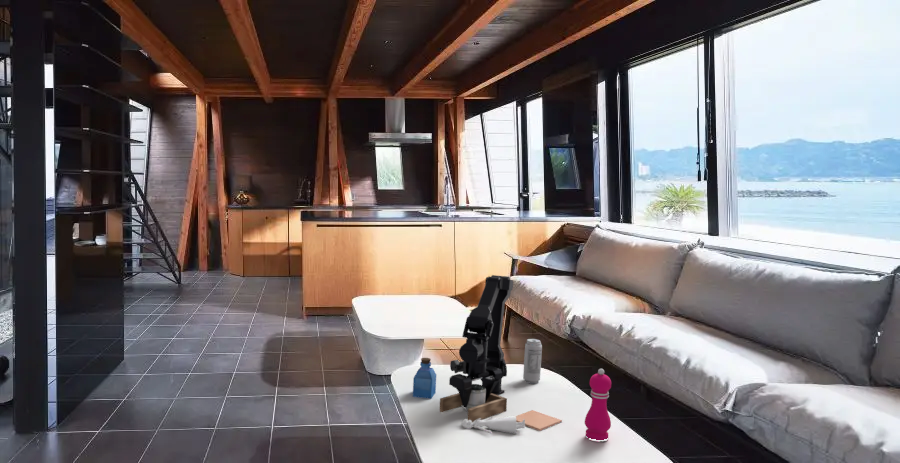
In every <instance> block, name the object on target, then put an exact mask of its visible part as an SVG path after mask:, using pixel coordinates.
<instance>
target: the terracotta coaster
mask: <svg viewBox="0 0 900 463" xmlns="http://www.w3.org/2000/svg"><path fill="white" fill-rule="evenodd" d="M515 416H516V422H522V421H523V420H524V419H525V427H528V428H531V429H534V430H536V431H540V432H541V431H543V429H544V430H545V429H548V427H549V428H551V427H553V426H555V424H556V425H558V424H561V423H563V419H559V418H557V417H553V416H551V415H549V414H545V413H542V412H540V411H537V410H533V409H531V410H529V411H526V412H524V413H523V412H522V413H521V414H520V413H519V414H517V415H515ZM560 422H561V423H560ZM557 423H558V424H557ZM550 426H551V427H550Z"/></svg>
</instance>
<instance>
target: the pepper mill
mask: <svg viewBox="0 0 900 463" xmlns="http://www.w3.org/2000/svg"><path fill="white" fill-rule="evenodd" d="M589 386H590V388H591V390H590V396H591V404H590V407H589V409H588V411H587V413H586V415H585V417H584V418H585V419H584V425H585V427H586V430H585V437H586V436H587V437H588V438H591V439H596V440H604V439H607V438H608V439H609V432H608V431H609V430H610V429H611V427H612V425H611V424H612V421H611V417H610V414H609V411H608V408H607V407H608V406H607V405H608V404H607V402H608V398H609V397H610V395H609V394H610V393H609V391H610V390H611V388H612V380H611V378H610V377H609V376H608V375H607V374H605V370H604V369H603V368H599V369H598V370H597V373H595V374H592V376H591V377H590V379H589Z"/></svg>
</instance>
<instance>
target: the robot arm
mask: <svg viewBox="0 0 900 463" xmlns="http://www.w3.org/2000/svg"><path fill="white" fill-rule="evenodd" d="M484 283H485V285H484V288H483V291H482V293H481V296H480V299H479V302H478V304H477V306H476V307H474V308H473V309H472V310H470V312H469V314H468V316H467V317H466V320H465V324H464V329H463V333H462V338H465V339H466V340H465V343H464V344H462V345H461V346H460V348H459V350H458V351H459V352H458V355H459V357H460V359H461V361H460V360H459V359H454V360H451V361H450V364H449V366H450V370H451V371H452V372H454V375H451V376H450V377H449V382H448V384H449V386H452V388H455V389H456V390H457V392H458V393H459V394H460V398H461V401H462V404H463V406H462V408H464V409H466V408H467V405H468V402H469V398H470V394H471V391H472V388H471V385H472V384H473V382H475V381H478V380H481V385H482V386H484V387H485V389H486V398H485V402H486V401H487V399H488V398H489V396H490V394H491V393H492V394H495V395H500V394H503V393H505V390H503V389H502V379H503V378H504V377H508V376H507V374H508V370H507V368H508V367H507V364H506V360H505V353H504V351H503V349H502V346H501V342H502V333H503V324H504V314H505V305H506V302H507V300H508V299H509V298H510V297H511V292H512V291H513V288H514V280H512V279H511V277H510V276H508V275H507V276H505V275H504V276H503V275H496V274H495V275H494V274H492V275H491V276H487V277H485V282H484ZM461 372H462V373H461Z"/></svg>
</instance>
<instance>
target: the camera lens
mask: <svg viewBox="0 0 900 463" xmlns="http://www.w3.org/2000/svg"><path fill="white" fill-rule="evenodd" d="M471 388H472V391H471V394H470V398H469V402H468V405H467V408H465V411H466V412H467V413H468V409H469V408H473V407H476V406H479V405H482V404H485V398H486V389H485V387H484V386H482V384H479V383H478V384H477V383H472V385H471Z"/></svg>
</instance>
